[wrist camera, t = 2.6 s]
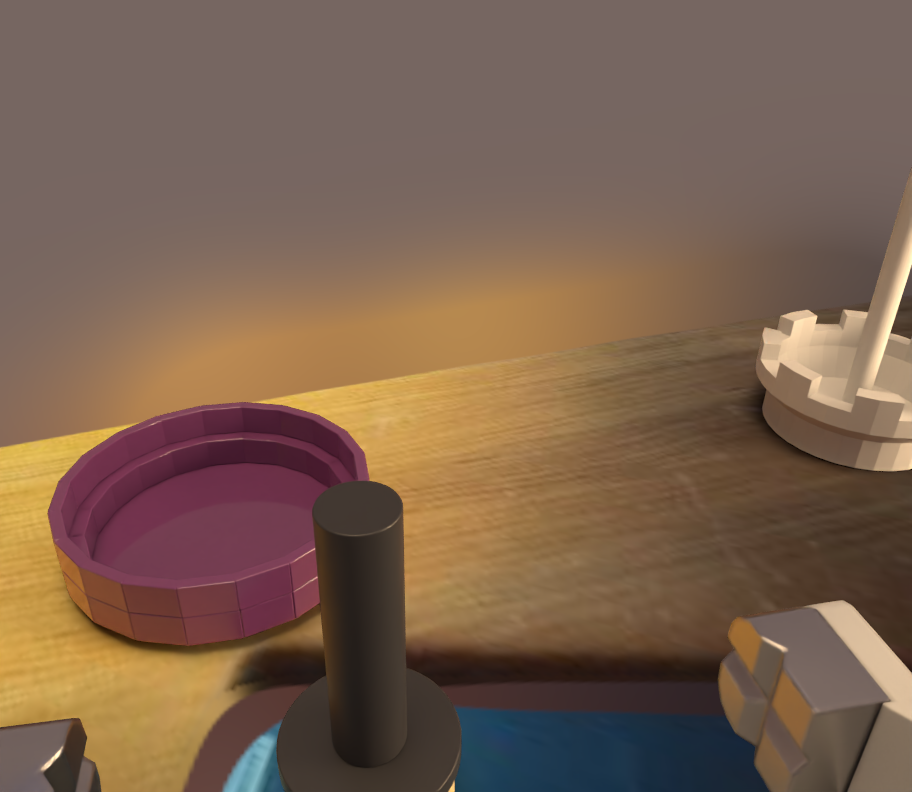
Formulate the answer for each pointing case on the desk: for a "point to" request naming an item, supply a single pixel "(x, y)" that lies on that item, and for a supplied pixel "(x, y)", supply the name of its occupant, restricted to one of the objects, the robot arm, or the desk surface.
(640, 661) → the desk surface
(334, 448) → the plum bowl
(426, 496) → the desk surface
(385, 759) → the dish brush
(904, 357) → the flag stand
